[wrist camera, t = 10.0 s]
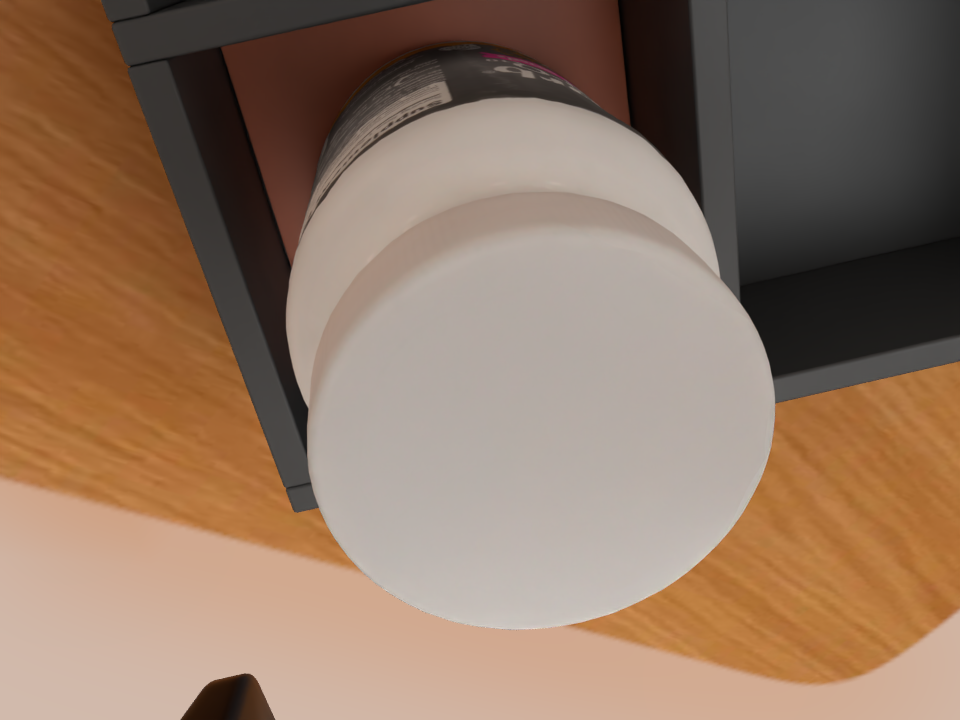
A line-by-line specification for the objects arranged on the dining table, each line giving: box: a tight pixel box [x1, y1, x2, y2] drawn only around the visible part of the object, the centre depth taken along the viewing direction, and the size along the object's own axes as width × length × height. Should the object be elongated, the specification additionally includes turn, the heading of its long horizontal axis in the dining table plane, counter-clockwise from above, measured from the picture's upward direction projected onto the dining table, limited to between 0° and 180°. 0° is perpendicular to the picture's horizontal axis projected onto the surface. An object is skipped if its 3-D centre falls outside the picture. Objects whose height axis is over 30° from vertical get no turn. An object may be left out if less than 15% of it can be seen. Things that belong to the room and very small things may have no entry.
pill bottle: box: [286, 41, 775, 630], centre depth 12 cm, size 6×6×10 cm
